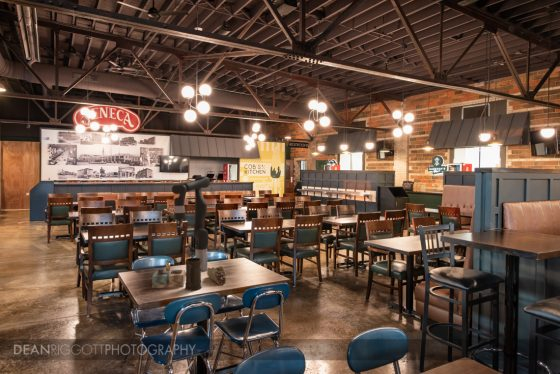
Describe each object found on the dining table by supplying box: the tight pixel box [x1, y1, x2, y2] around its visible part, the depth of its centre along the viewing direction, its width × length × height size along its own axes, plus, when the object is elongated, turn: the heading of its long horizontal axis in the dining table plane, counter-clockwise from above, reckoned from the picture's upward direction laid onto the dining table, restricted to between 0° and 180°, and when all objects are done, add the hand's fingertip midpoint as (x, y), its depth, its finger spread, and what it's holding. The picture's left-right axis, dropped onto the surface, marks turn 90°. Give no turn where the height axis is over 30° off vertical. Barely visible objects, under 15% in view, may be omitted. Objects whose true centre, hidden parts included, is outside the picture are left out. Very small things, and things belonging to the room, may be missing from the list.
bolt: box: [156, 262, 171, 274], centre depth 255 cm, size 8×3×7 cm, turn 99°
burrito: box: [206, 266, 227, 286], centre depth 266 cm, size 10×27×10 cm, turn 28°
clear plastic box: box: [151, 267, 186, 289], centre depth 255 cm, size 20×14×11 cm
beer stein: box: [184, 257, 202, 292], centre depth 244 cm, size 15×11×20 cm
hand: (179, 234), depth 268 cm, fingers open, 8 cm apart
